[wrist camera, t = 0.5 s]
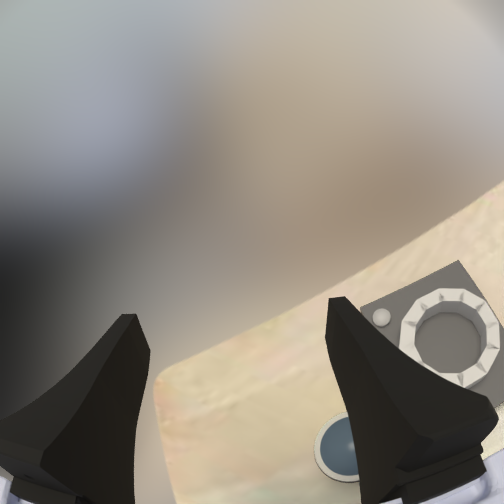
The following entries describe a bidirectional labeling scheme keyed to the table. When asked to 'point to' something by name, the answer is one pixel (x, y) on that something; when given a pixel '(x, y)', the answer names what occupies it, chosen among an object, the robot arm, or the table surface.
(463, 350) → the camera body
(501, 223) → the table surface
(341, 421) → the lens
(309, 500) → the table surface
